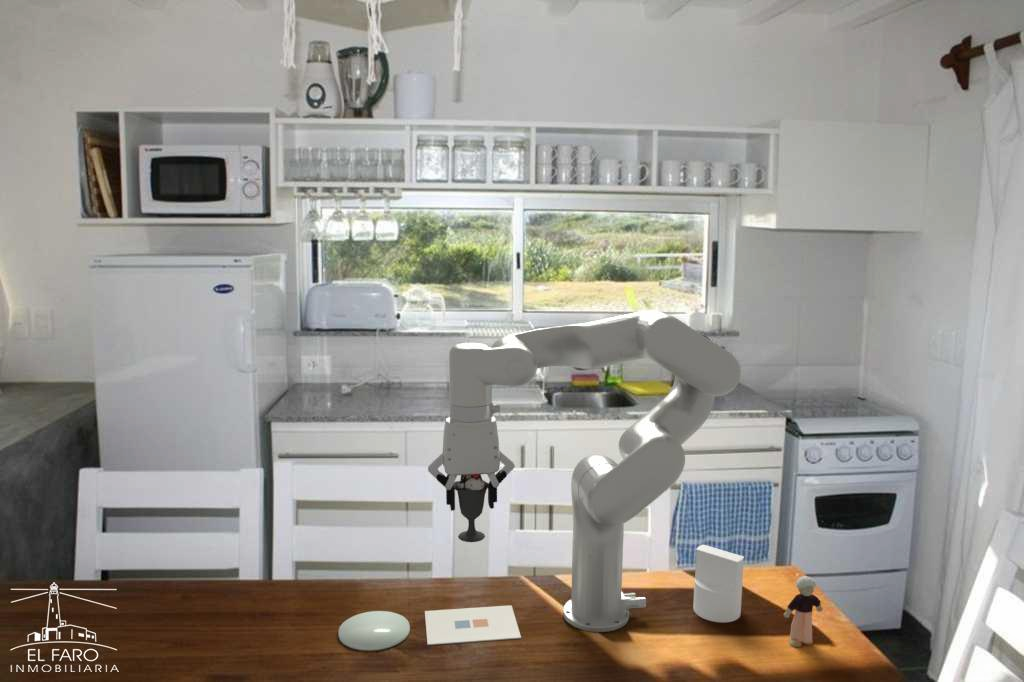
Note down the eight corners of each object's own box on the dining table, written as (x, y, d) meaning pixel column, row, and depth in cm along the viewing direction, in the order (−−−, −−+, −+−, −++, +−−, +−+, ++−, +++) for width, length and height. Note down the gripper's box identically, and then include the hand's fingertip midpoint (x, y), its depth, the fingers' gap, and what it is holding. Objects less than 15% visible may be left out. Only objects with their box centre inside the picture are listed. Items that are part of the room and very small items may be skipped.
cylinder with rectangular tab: (748, 609, 160) (751, 551, 158) (727, 627, 153) (731, 567, 151) (706, 595, 165) (709, 539, 163) (684, 611, 159) (687, 553, 157)
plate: (409, 611, 158) (409, 608, 158) (410, 647, 145) (410, 644, 145) (340, 616, 156) (340, 613, 156) (336, 653, 143) (336, 650, 143)
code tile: (511, 606, 160) (511, 605, 160) (521, 638, 149) (521, 637, 148) (424, 612, 158) (424, 610, 158) (427, 645, 146) (427, 644, 146)
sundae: (485, 545, 146) (485, 465, 144) (449, 542, 148) (448, 463, 145) (493, 531, 153) (493, 454, 150) (459, 528, 154) (458, 452, 151)
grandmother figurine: (795, 652, 145) (799, 585, 142) (778, 641, 148) (783, 576, 146) (825, 641, 148) (831, 576, 146) (809, 631, 151) (814, 567, 149)
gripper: (515, 405, 151) (515, 497, 154) (421, 408, 149) (423, 502, 152) (521, 415, 144) (521, 512, 147) (423, 419, 141) (425, 517, 144)
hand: (471, 506), depth 149 cm, fingers closed on sundae, 6 cm apart
